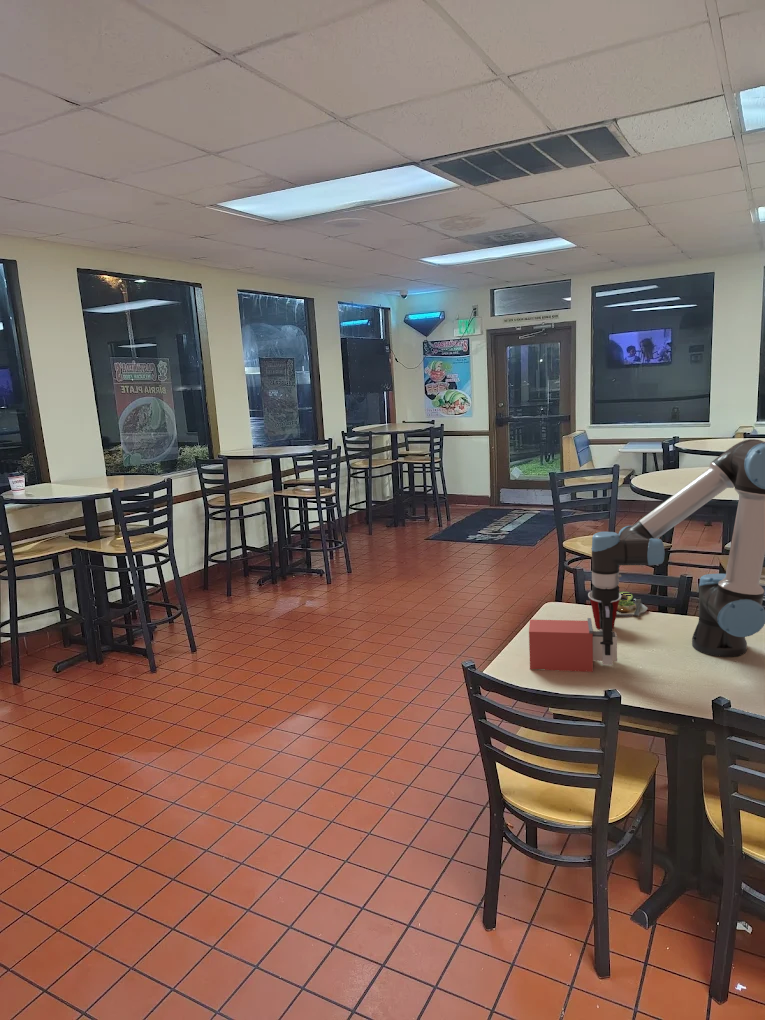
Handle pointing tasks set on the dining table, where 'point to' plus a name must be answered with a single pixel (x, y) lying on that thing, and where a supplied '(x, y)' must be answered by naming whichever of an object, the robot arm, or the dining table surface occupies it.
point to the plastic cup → (596, 609)
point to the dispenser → (561, 645)
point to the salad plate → (630, 606)
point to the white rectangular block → (598, 647)
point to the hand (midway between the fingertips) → (605, 656)
